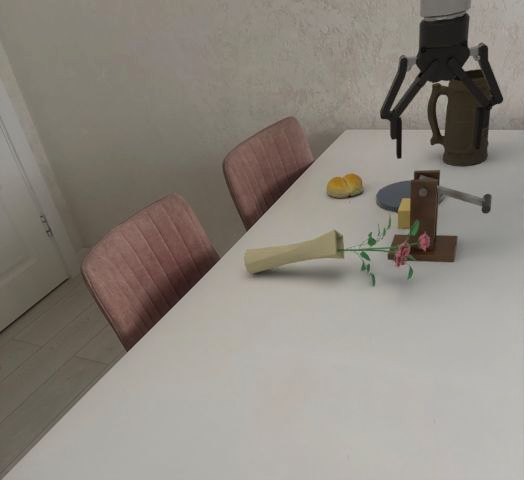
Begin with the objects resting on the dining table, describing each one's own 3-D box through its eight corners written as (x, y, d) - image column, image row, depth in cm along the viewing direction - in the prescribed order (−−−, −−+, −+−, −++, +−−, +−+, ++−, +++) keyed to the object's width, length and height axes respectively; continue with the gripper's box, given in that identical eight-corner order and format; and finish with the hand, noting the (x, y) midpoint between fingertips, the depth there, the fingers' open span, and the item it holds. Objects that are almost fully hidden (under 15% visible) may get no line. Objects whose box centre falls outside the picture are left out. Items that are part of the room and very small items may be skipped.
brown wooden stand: (457, 241, 98) (463, 166, 88) (453, 262, 92) (460, 184, 83) (394, 239, 102) (394, 168, 93) (387, 259, 97) (387, 185, 87)
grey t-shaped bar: (488, 204, 90) (494, 192, 88) (487, 217, 86) (493, 204, 84) (417, 183, 92) (421, 171, 90) (413, 195, 88) (418, 182, 87)
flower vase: (273, 294, 108) (442, 267, 91) (247, 311, 98) (432, 285, 81) (259, 240, 104) (432, 202, 87) (231, 252, 94) (421, 212, 77)
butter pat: (402, 215, 110) (402, 198, 107) (423, 215, 108) (423, 198, 106) (397, 228, 106) (397, 210, 103) (419, 228, 104) (419, 210, 101)
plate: (446, 184, 118) (446, 179, 117) (439, 212, 108) (440, 207, 107) (382, 185, 124) (382, 180, 123) (370, 212, 113) (370, 207, 113)
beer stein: (492, 150, 129) (497, 64, 117) (488, 165, 122) (492, 76, 110) (431, 155, 136) (429, 74, 124) (423, 170, 129) (420, 86, 117)
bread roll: (324, 189, 128) (323, 173, 125) (359, 183, 127) (359, 167, 125) (329, 201, 121) (328, 185, 119) (366, 195, 121) (365, 179, 118)
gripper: (523, -2, 79) (504, 136, 92) (363, 25, 84) (367, 152, 97) (537, 3, 73) (515, 150, 86) (364, 32, 78) (368, 167, 92)
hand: (436, 151), depth 92 cm, fingers open, 13 cm apart
